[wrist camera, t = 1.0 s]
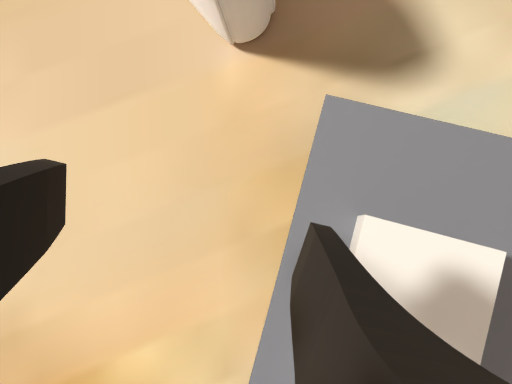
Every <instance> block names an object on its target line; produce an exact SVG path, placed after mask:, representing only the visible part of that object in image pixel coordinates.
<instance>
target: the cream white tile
mask: <svg viewBox="0 0 512 384" xmlns="http://www.w3.org/2000/svg"><path fill="white" fill-rule="evenodd" d="M349 249H350V251H351V252H352V253H353V254H354V256H355V257H356V258H357V259H358V261H359V262H360V263H361V264H362V265H363V266H364V268H365V269H366V270H367V271H368V272H369V273H370V274H371V276H372V277H373V278H374V279H375V280H376V281H377V282H378V283H379V284H380V285H381V286H382V287H383V288H384V289H385V291H386V292H387V293H388V294H389V295H390V296H392V297H393V298H394V299H395V300H396V301H397V302H398V303H399V304H400V305H401V306H402V307H403V308H405V309H406V310H407V311H408V312H409V313H410V314H411V315H412V316H413V317H415V318H416V319H417V320H418V321H419V322H421V323H422V324H423V325H424V326H426V327H427V328H428V329H430V330H431V331H432V332H433V333H435V334H436V335H437V336H439V337H440V338H441V339H443V340H444V341H445V342H447V343H448V344H449V345H451V346H452V347H454V348H455V349H456V350H458V351H459V352H461V353H462V354H464V355H465V356H467V357H468V358H470V359H471V360H473V361H474V362H476V363H477V364H479V365H480V364H481V359H482V355H483V351H484V347H485V342H486V338H487V334H488V330H489V325H490V321H491V317H492V313H493V308H494V304H495V300H496V296H497V291H498V287H499V283H500V278H501V274H502V270H503V266H504V261H505V257H506V253H507V252H504V251H500V250H497V249H493V248H489V247H485V246H482V245H478V244H474V243H470V242H467V241H463V240H459V239H455V238H451V237H448V236H444V235H440V234H436V233H433V232H429V231H425V230H421V229H417V228H414V227H410V226H406V225H402V224H399V223H395V222H391V221H387V220H383V219H380V218H376V217H372V216H368V215H359V216H358V217H357V220H356V224H355V228H354V232H353V236H352V240H351V244H350V248H349Z"/></svg>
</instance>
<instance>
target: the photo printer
mask: <svg viewBox="0 0 512 384" xmlns="http://www.w3.org/2000/svg"><path fill="white" fill-rule="evenodd" d="M189 1H190V2H191V3H192V5H193V6H194V7H195V8H196V9H197V10H198V12H199V13H200V14H201V15H202V16H203V17H204V19H205V20H206V21H207V22H208V23H209V24H210V25H211V27H212V28H213V29H214V30H215V31H216V32H217V33H218V34H219V35H220V36H221V37H222V38H223V39H224V40H226V41H227V42H228V43H229V44H231V45H232V44H234V42H236V43H244V42H248V41H251V40H253V39H255V38H256V37H258V36H259V35H260V34H261V33H262V32H263V31H264V30H265V29H266V27H267V26H268V24H269V21H270V17H271V14H272V13H273V12H274V11H275V7H276V4H275V0H189Z"/></svg>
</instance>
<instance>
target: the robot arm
mask: <svg viewBox="0 0 512 384" xmlns="http://www.w3.org/2000/svg"><path fill="white" fill-rule="evenodd" d="M65 205H66V164H64V163H60V162H56V161H52V160H47V159H40V160H33V161H27V162H22V163H17V164H13V165H8V166H4V167H0V301H1V299H2V298H3V297H4V296H5V295H6V294H7V293H8V292H9V291H10V290H11V289H12V288H13V287H14V286H15V285H16V284H17V283H18V282H19V280H20V279H21V278H22V277H23V276H24V275H25V274H26V273H27V272H28V271H29V270H30V269H31V268H32V267H33V266H34V264H35V263H36V262H37V261H38V260H39V259H40V258H41V257H42V256H43V255H44V254H45V252H46V251H47V250H48V249H49V247H50V246H51V244H52V243H53V242H54V240H55V239H56V237H57V236H58V234H59V233H60V231H61V230H62V228H63V227H64V225H65ZM290 317H291V332H292V345H293V359H294V372H295V384H510V383H508V382H507V381H505V380H503V379H501V378H500V377H498V376H496V375H495V374H493V373H491V372H490V371H488V370H487V369H485V368H484V367H482V366H480V365H479V364H477V363H476V362H474V361H473V360H471V359H470V358H468V357H467V356H465V355H464V354H462V353H461V352H459V351H458V350H456V349H455V348H454V347H452V346H451V345H449V344H448V343H447V342H445V341H444V340H443V339H441V338H440V337H439V336H437V335H436V334H435V333H433V332H432V331H431V330H430V329H428V328H427V327H426V326H424V325H423V324H422V323H421V322H419V321H418V320H417V319H416V318H415V317H413V316H412V315H411V314H410V313H409V312H408V311H407V310H406V309H405V308H403V307H402V306H401V305H400V304H399V303H398V302H397V301H396V300H395V299H394V298H393V297H392V296H390V295H389V294H388V293H387V292H386V291H385V289H384V288H383V287H382V286H381V285H380V284H379V283H378V282H377V281H376V280H375V279H374V278H373V277H372V276H371V274H370V273H369V272H368V271H367V270H366V269H365V268H364V266H363V265H362V264H361V263H360V262H359V261H358V259H357V258H356V257H355V256H354V254H353V253H352V252H351V251H350V249H349V248H348V247H347V246H346V244H345V243H344V242H343V241H342V239H341V238H340V237H339V236H338V234H337V233H336V232H335V231H334V230H333V229H332V228H331V227H329V226H325V225H321V224H317V223H312V222H310V225H309V228H308V231H307V234H306V237H305V240H304V243H303V246H302V248H301V251H300V254H299V257H298V260H297V263H296V266H295V269H294V272H293V275H292V280H291V294H290Z"/></svg>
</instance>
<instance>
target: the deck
mask: <svg viewBox="0 0 512 384" xmlns="http://www.w3.org/2000/svg"><path fill="white" fill-rule="evenodd" d="M359 215H368V216H372V217H376V218H380V219H383V220H387V221H391V222H395V223H399V224H402V225H406V226H410V227H414V228H417V229H421V230H425V231H429V232H433V233H436V234H440V235H444V236H448V237H451V238H455V239H459V240H463V241H467V242H470V243H474V244H478V245H482V246H485V247H489V248H493V249H497V250H500V251H504V252H507V253H506V257H505V261H504V266H503V270H502V274H501V278H500V283H499V287H498V291H497V296H496V300H495V304H494V308H493V313H492V317H491V321H490V325H489V330H488V334H487V338H486V342H485V347H484V351H483V355H482V359H481V364H480V366H482V367H484V368H485V369H487V370H488V371H490V372H491V373H493V374H495V375H496V376H498V377H500V378H501V379H503V380H505V381H507V382H508V383H510V384H512V138H511V137H506V136H502V135H498V134H493V133H489V132H485V131H481V130H476V129H472V128H468V127H463V126H459V125H455V124H451V123H446V122H442V121H438V120H433V119H429V118H425V117H421V116H416V115H412V114H408V113H404V112H399V111H395V110H391V109H386V108H382V107H378V106H374V105H369V104H365V103H361V102H356V101H352V100H348V99H344V98H339V97H335V96H331V95H327V94H326V96H325V100H324V104H323V107H322V111H321V115H320V119H319V122H318V126H317V130H316V134H315V137H314V141H313V145H312V149H311V152H310V156H309V160H308V164H307V167H306V171H305V175H304V179H303V182H302V186H301V190H300V194H299V197H298V201H297V205H296V209H295V212H294V216H293V220H292V224H291V227H290V231H289V235H288V239H287V242H286V246H285V250H284V254H283V257H282V261H281V265H280V269H279V272H278V276H277V280H276V284H275V287H274V291H273V295H272V298H271V302H270V306H269V310H268V313H267V317H266V321H265V325H264V328H263V332H262V336H261V340H260V343H259V347H258V351H257V355H256V358H255V362H254V366H253V370H252V373H251V377H250V381H249V384H295V372H294V359H293V345H292V332H291V317H290V294H291V280H292V275H293V272H294V269H295V266H296V263H297V260H298V257H299V254H300V251H301V248H302V246H303V243H304V240H305V237H306V234H307V231H308V228H309V225H310V222H312V223H317V224H321V225H325V226H329V227H331V228H332V229H333V230H334V231H335V232H336V233H337V234H338V236H339V237H340V238H341V239H342V241H343V242H344V243H345V244H346V246H347V247H348V248H350V244H351V240H352V236H353V232H354V228H355V224H356V220H357V217H358V216H359Z"/></svg>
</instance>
